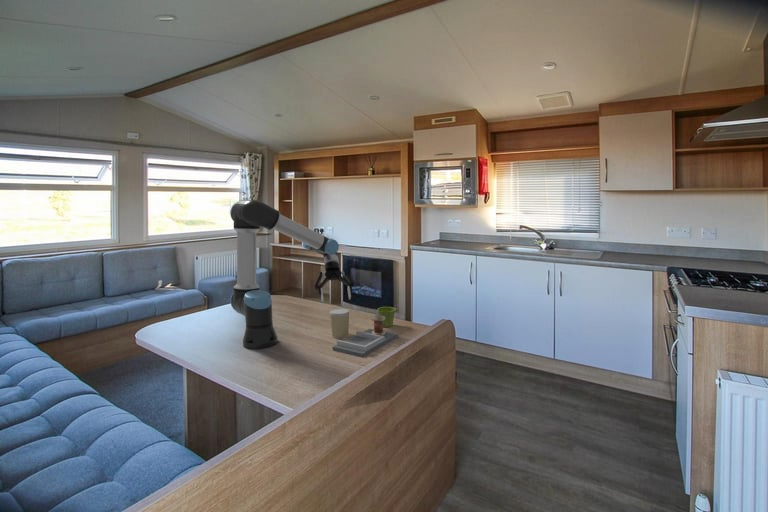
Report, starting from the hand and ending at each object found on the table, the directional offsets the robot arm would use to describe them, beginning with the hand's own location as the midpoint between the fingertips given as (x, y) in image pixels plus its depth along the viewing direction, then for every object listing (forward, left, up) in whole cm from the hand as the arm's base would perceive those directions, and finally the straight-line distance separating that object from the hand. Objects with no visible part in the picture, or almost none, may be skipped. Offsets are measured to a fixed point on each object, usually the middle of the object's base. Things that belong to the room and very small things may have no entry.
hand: (336, 299), depth 204 cm
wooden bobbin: (+15, -20, -14) cm, 28 cm away
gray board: (+6, -26, -15) cm, 30 cm away
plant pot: (+24, -6, -15) cm, 29 cm away
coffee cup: (-2, -11, -15) cm, 19 cm away
